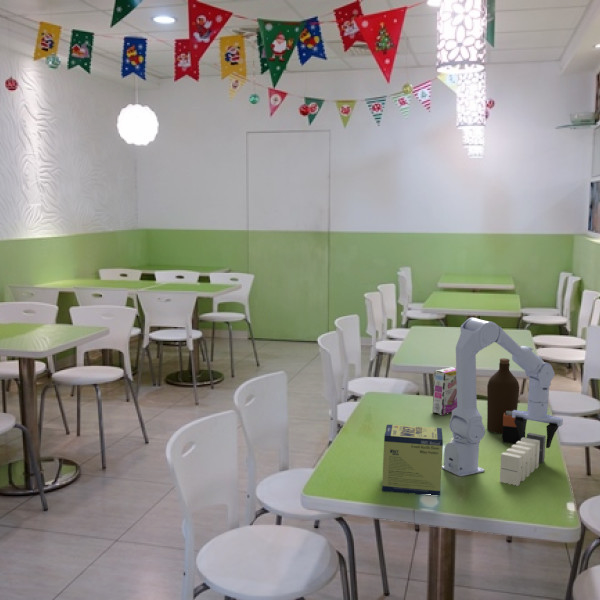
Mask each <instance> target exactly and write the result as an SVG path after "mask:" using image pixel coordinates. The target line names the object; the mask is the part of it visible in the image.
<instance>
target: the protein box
mask: <svg viewBox="0 0 600 600" xmlns="http://www.w3.org/2000/svg"><path fill="white" fill-rule="evenodd" d="M383 438H384V440H383V459H382V460H383V461H382V481H381V486H382V487H381V491H382V492H389V493H398V494H399V493H400V494H409V493H415V494H414V495H420V494H431V495H440V496H441V487H442V486H441V485H442V470H443V468H442V466H443V449H444V447H443V446H444V445H443V444H444V439H443V438H444V437H443V428H442V427H430V426H415V425H401V424H400V425H399V424H386V428H385V432H384V437H383ZM431 495H430V496H431Z"/></svg>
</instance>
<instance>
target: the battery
mask: <svg viewBox="0 0 600 600" xmlns="http://www.w3.org/2000/svg"><path fill="white" fill-rule="evenodd" d="M515 419H516V418H513V417H512V411H506V413H504V415H503V432H502V434H501V442H502V443H505V444H506V443H507V444H513V443H514V444H513V445H516V442H517V441H520V436H519V432H518V429H517V427H516V425H515V423H514V420H515Z"/></svg>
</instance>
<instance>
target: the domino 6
mask: <svg viewBox="0 0 600 600" xmlns="http://www.w3.org/2000/svg"><path fill="white" fill-rule="evenodd" d="M526 438H529V439H535V440H540V449H539V464H543V463H544V462H545V457H546V456H545V454H546V453H545V451H546V441H547V435H545V434H544V435H543V434H538V433H533V432H527V434H526Z"/></svg>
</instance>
